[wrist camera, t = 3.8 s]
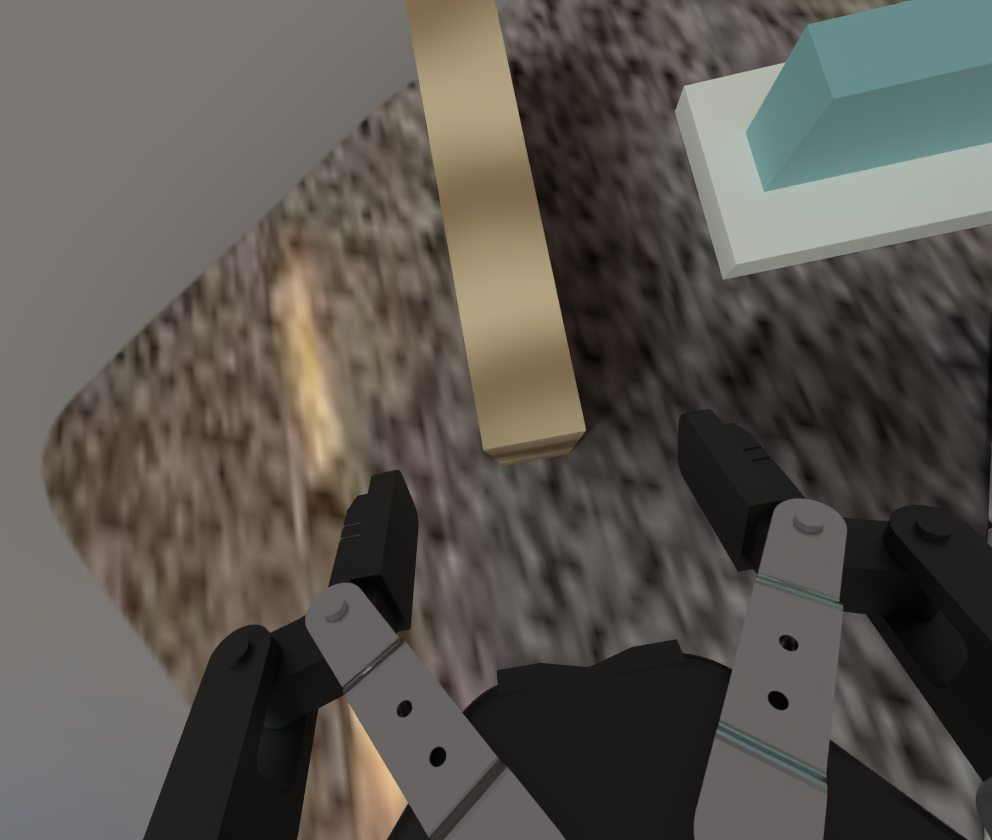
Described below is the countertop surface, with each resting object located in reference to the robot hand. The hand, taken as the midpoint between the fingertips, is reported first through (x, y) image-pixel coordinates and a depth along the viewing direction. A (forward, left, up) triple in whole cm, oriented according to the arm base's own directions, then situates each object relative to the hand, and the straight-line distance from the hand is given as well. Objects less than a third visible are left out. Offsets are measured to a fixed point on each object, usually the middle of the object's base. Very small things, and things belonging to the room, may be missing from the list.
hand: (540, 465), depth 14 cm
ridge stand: (-18, -12, -8) cm, 23 cm away
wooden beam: (0, -9, -8) cm, 12 cm away
